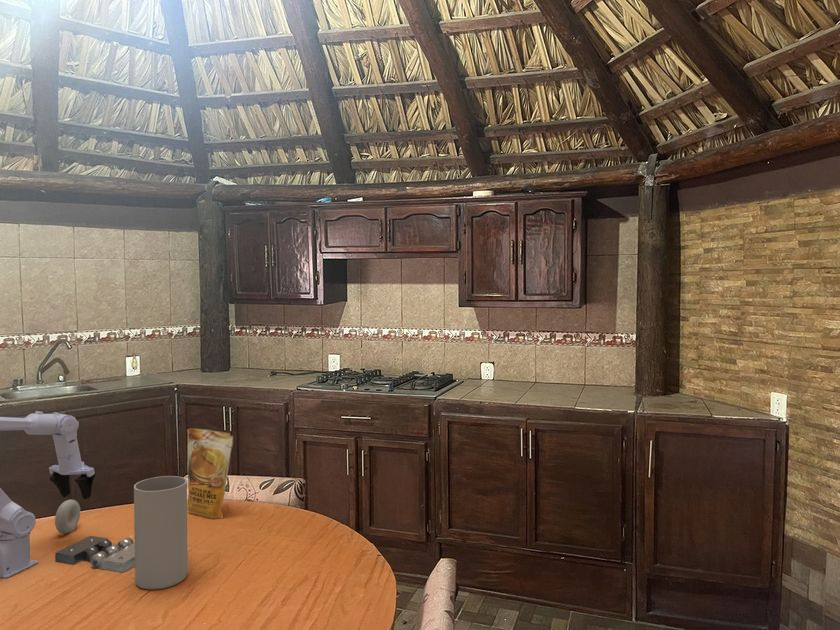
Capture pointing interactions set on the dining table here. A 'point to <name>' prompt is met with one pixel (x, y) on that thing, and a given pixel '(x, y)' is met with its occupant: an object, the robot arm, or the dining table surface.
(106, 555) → the steel leaf
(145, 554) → the cylinder vase
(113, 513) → the dining table surface
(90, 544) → the gunmetal leaf
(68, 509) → the donut
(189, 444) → the pancake mix bag
